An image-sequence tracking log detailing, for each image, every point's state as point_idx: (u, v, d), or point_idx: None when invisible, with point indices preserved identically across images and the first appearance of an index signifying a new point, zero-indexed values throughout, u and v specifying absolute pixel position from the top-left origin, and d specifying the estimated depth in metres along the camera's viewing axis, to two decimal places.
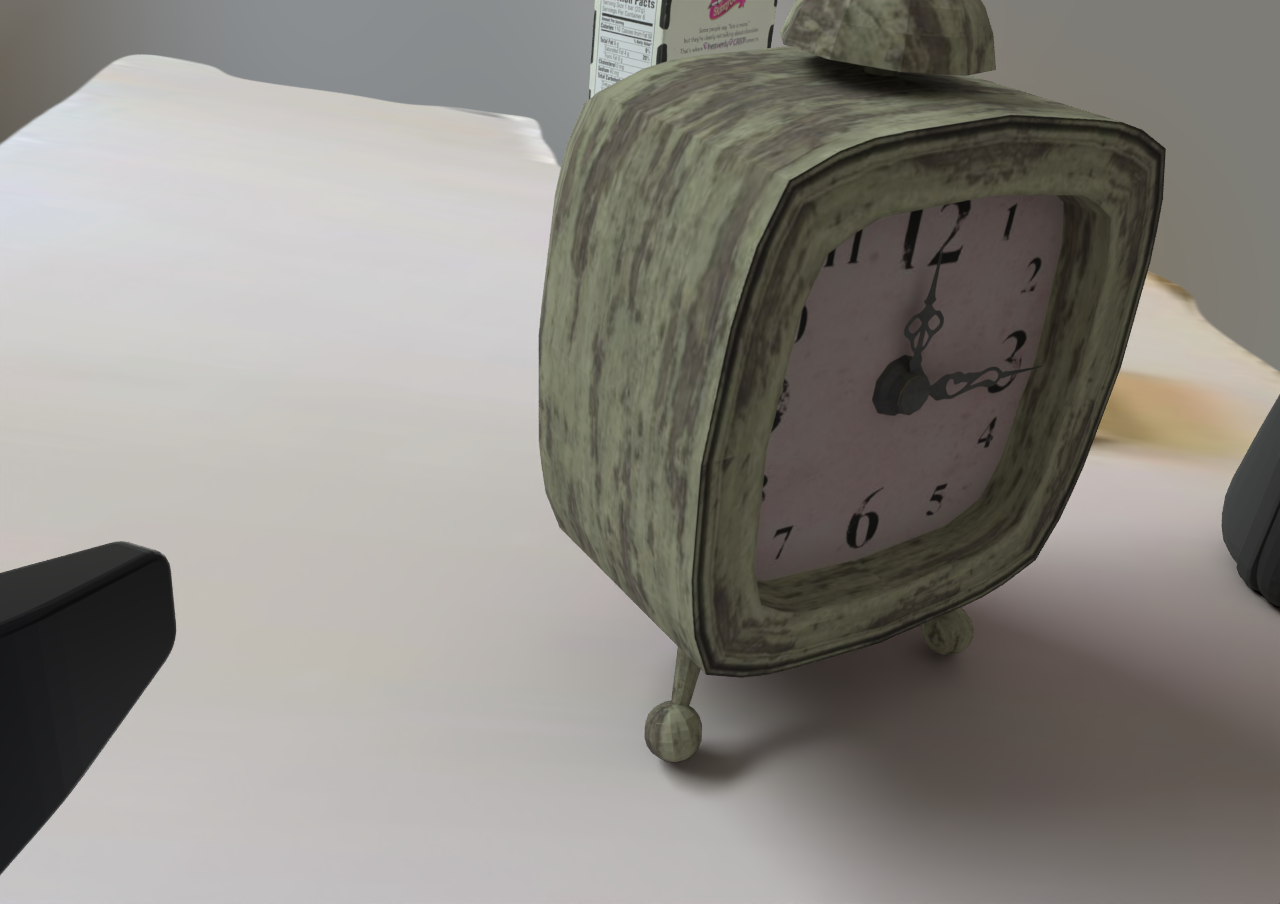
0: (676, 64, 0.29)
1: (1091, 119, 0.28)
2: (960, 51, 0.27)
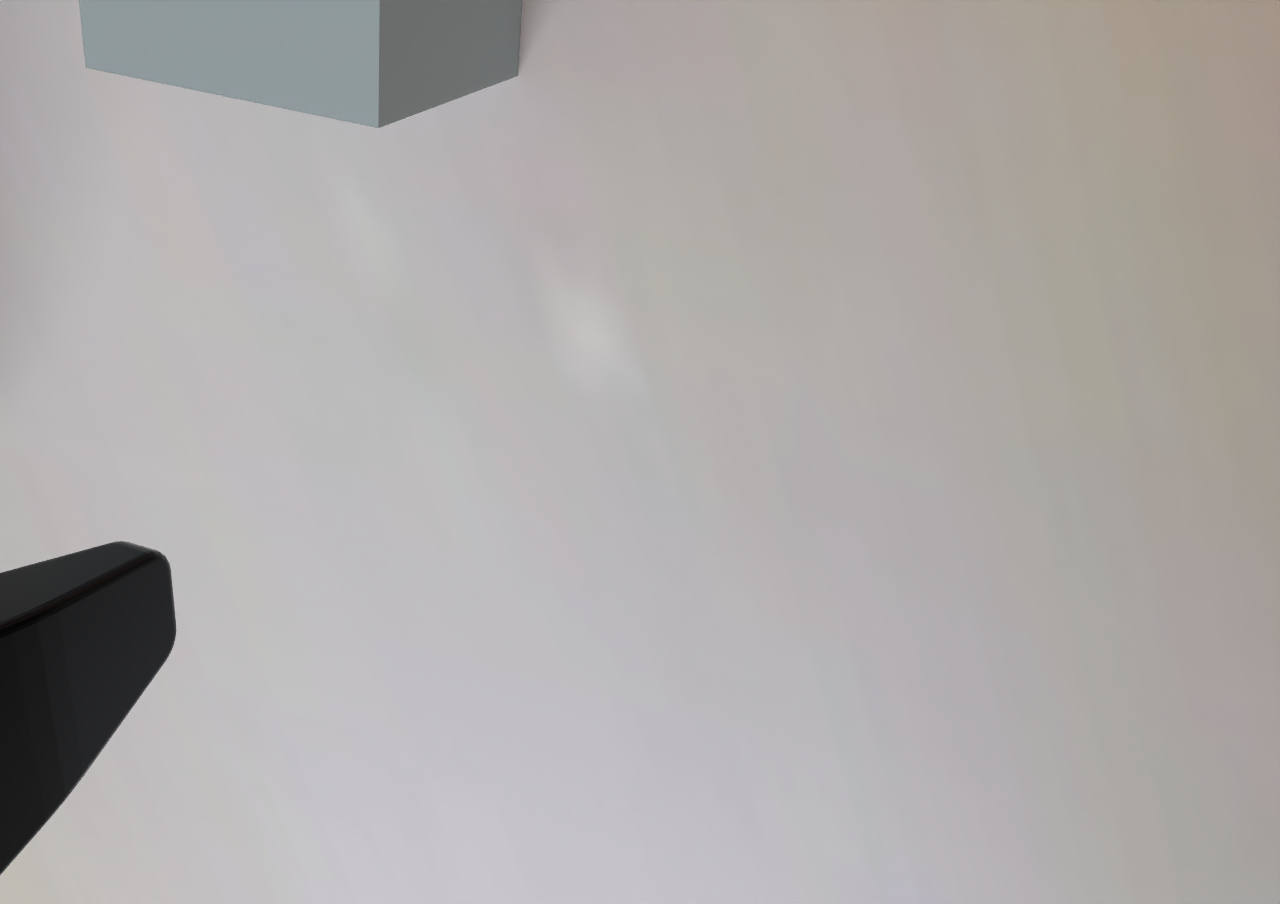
0: None
1: None
2: None
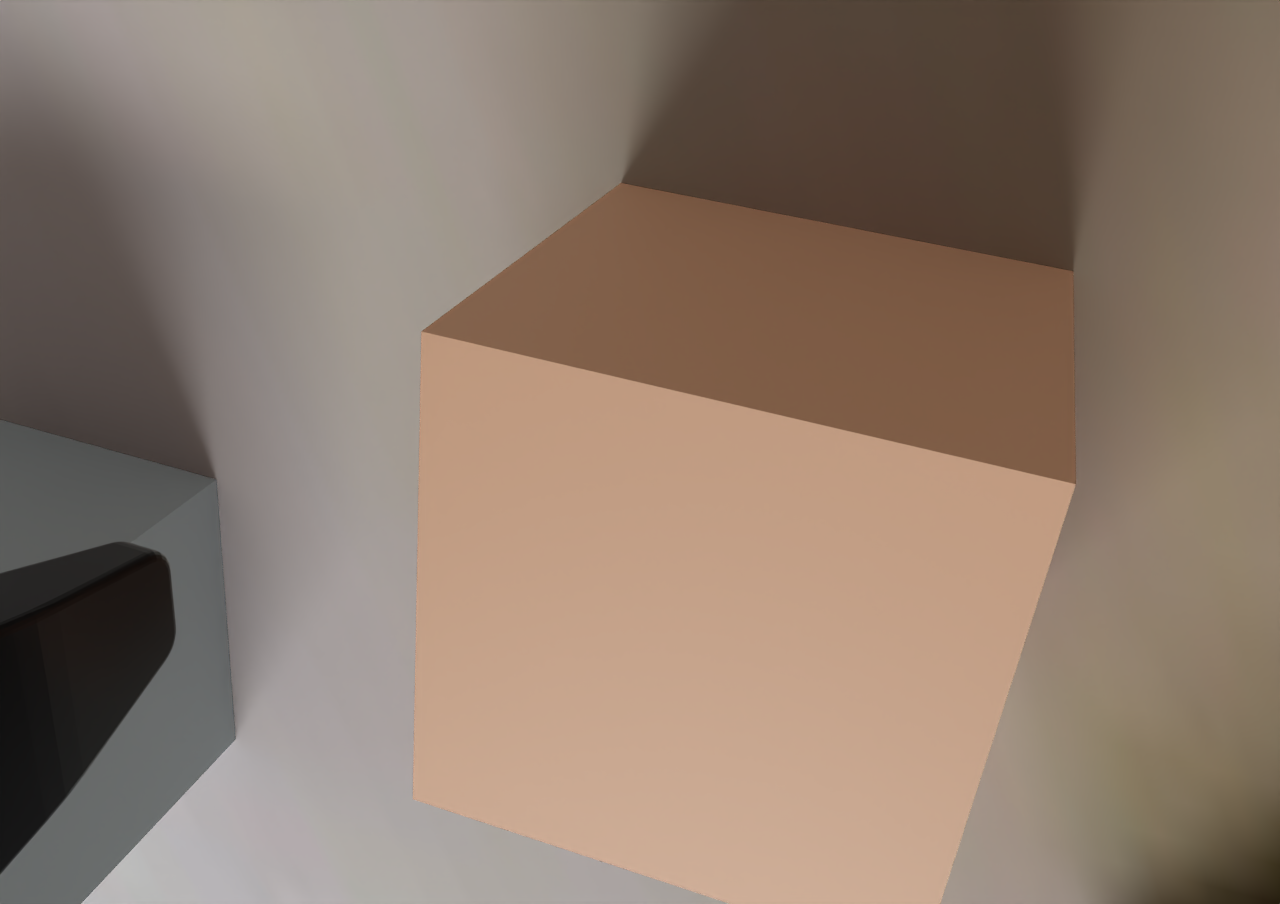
0: None
1: None
2: None
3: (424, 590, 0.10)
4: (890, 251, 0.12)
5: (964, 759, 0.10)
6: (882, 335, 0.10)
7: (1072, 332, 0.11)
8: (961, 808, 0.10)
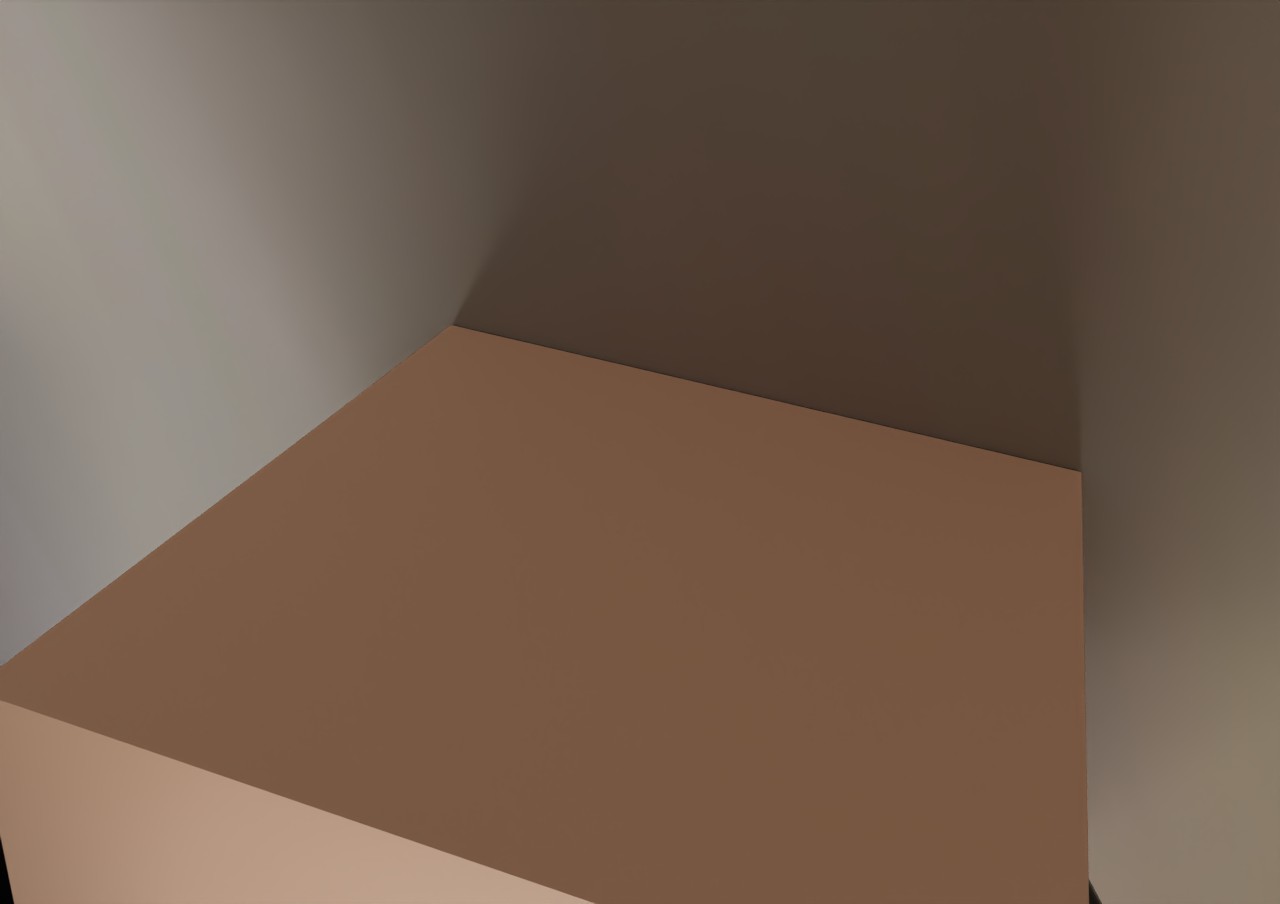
0: None
1: None
2: None
3: None
4: (814, 447, 0.09)
5: None
6: (777, 644, 0.06)
7: (1081, 618, 0.07)
8: None
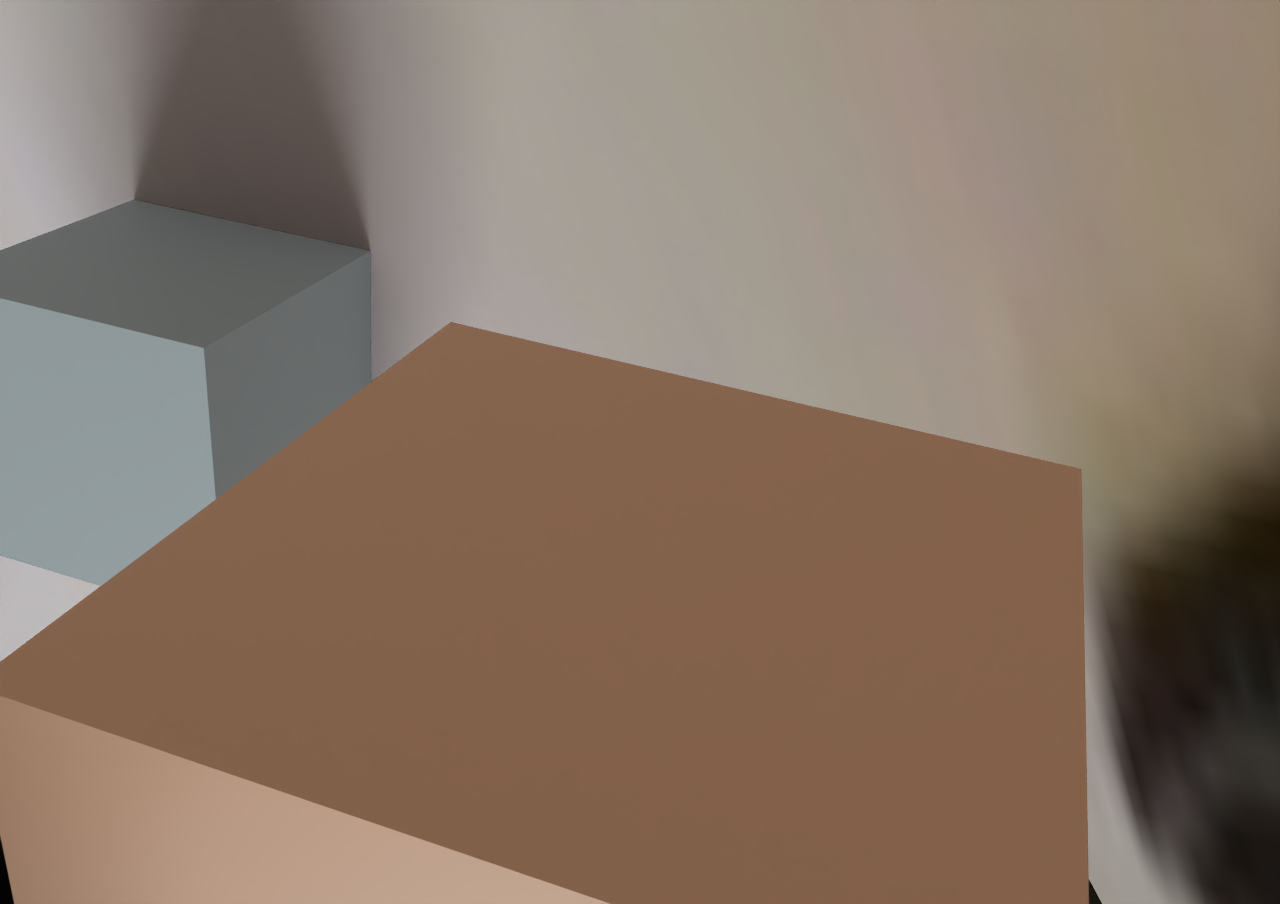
0: None
1: None
2: None
3: None
4: (814, 446, 0.09)
5: None
6: (777, 641, 0.06)
7: (1081, 614, 0.07)
8: None
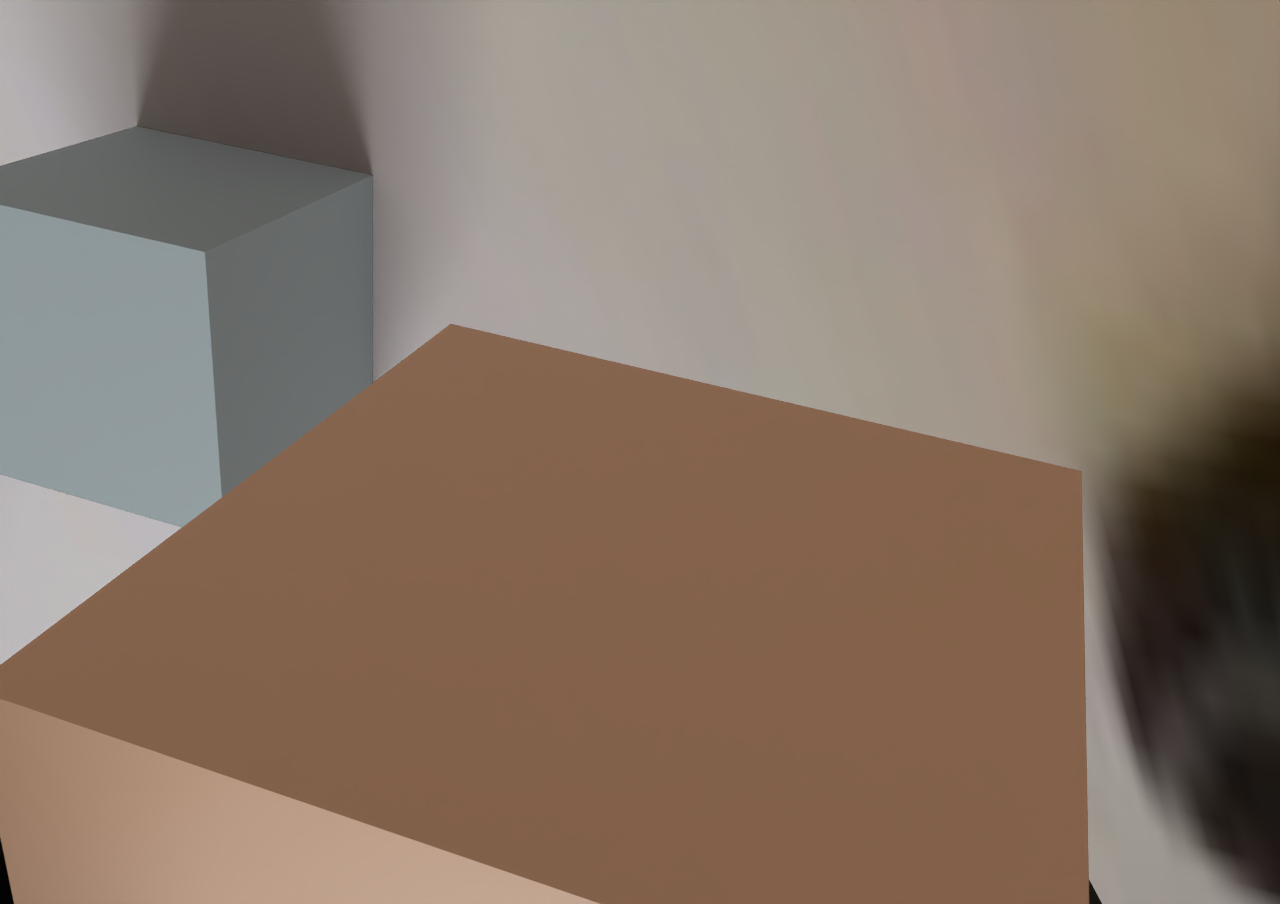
0: None
1: None
2: None
3: None
4: (814, 447, 0.09)
5: None
6: (777, 645, 0.06)
7: (1081, 616, 0.07)
8: None
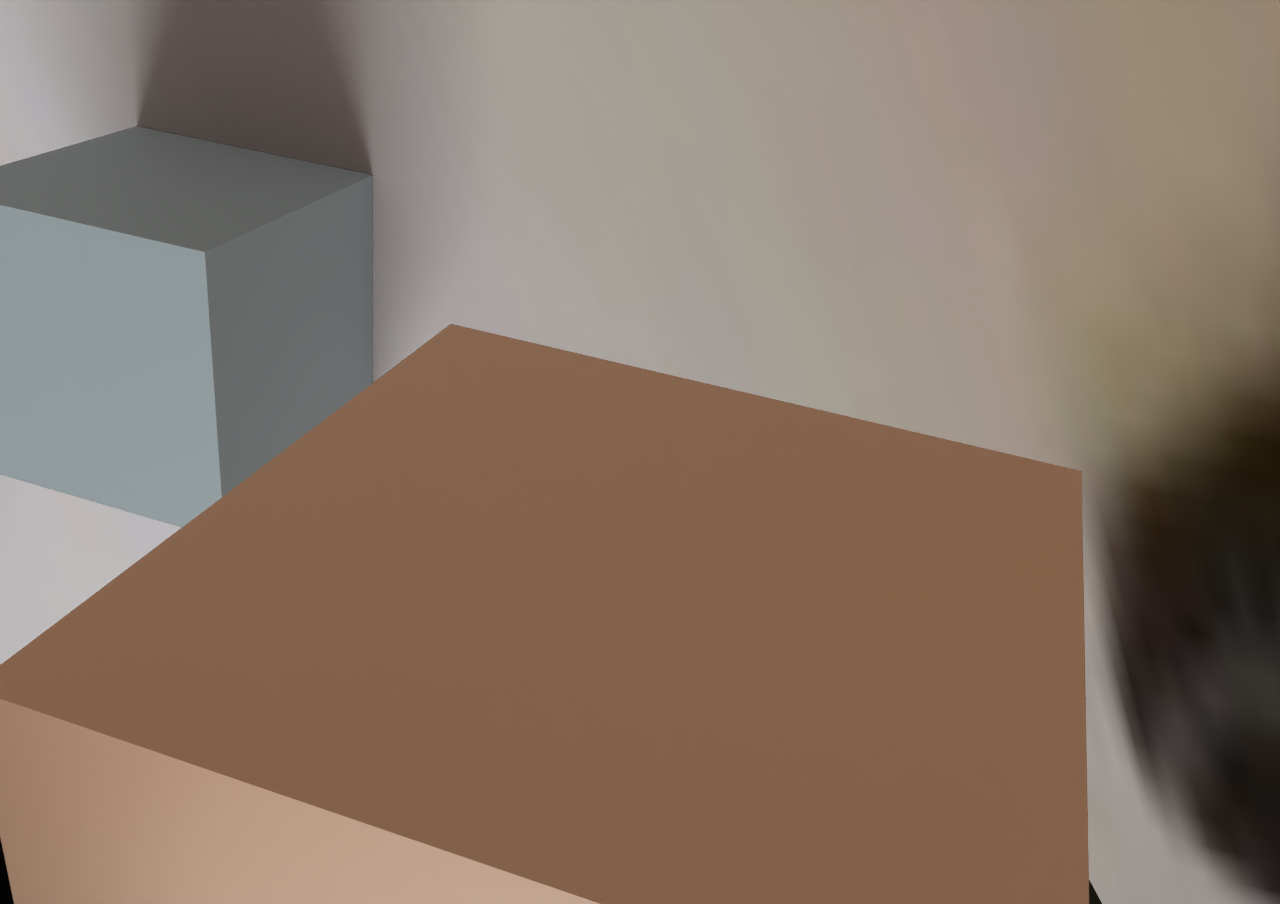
0: None
1: None
2: None
3: None
4: (814, 447, 0.09)
5: None
6: (777, 645, 0.06)
7: (1081, 616, 0.07)
8: None
